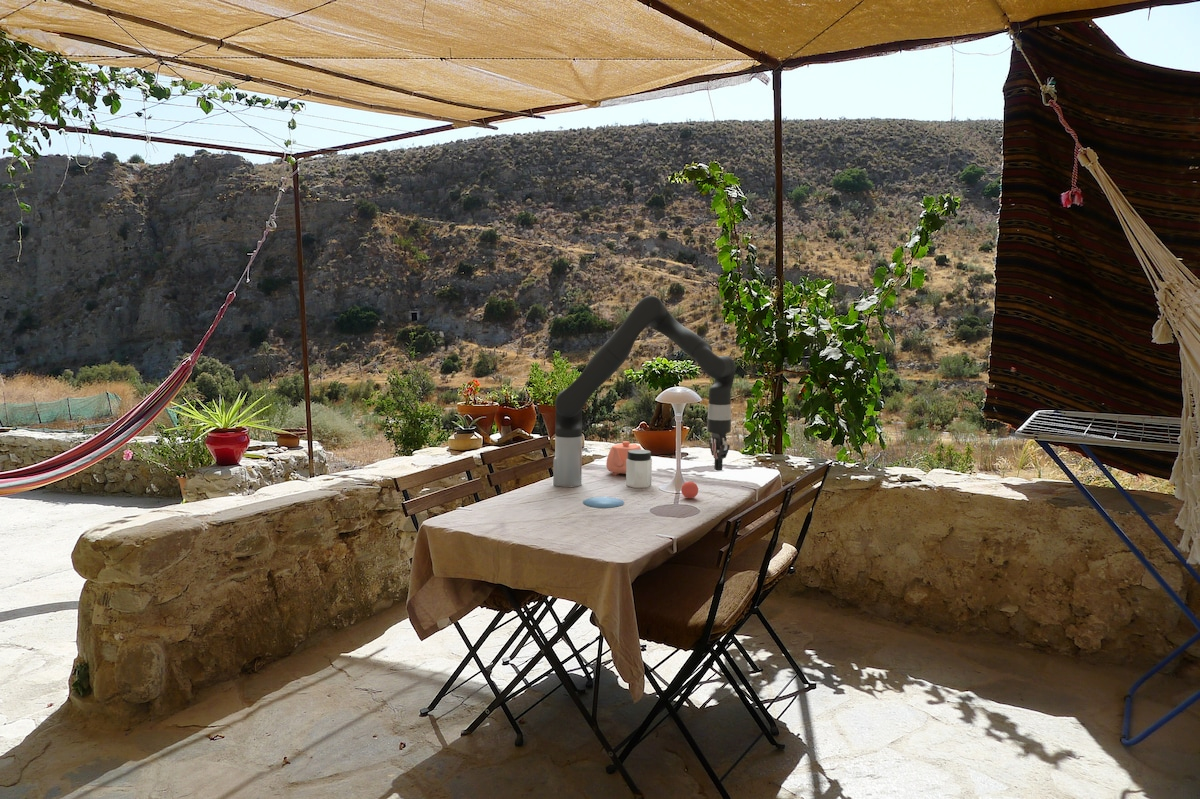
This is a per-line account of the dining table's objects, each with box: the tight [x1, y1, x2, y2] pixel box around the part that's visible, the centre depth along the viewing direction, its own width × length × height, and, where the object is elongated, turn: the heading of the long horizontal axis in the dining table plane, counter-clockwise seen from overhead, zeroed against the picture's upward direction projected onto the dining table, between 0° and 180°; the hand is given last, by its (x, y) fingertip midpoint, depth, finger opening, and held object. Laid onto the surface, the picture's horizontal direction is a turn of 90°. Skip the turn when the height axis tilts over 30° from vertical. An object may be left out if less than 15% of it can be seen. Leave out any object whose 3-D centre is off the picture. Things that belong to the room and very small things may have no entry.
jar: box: [625, 449, 653, 489], centre depth 272 cm, size 9×8×12 cm
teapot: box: [605, 440, 642, 476], centre depth 290 cm, size 13×20×12 cm, turn 153°
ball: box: [680, 481, 699, 499], centre depth 255 cm, size 6×6×6 cm
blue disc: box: [582, 496, 625, 509], centre depth 249 cm, size 13×13×1 cm
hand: (718, 469), depth 257 cm, fingers closed
